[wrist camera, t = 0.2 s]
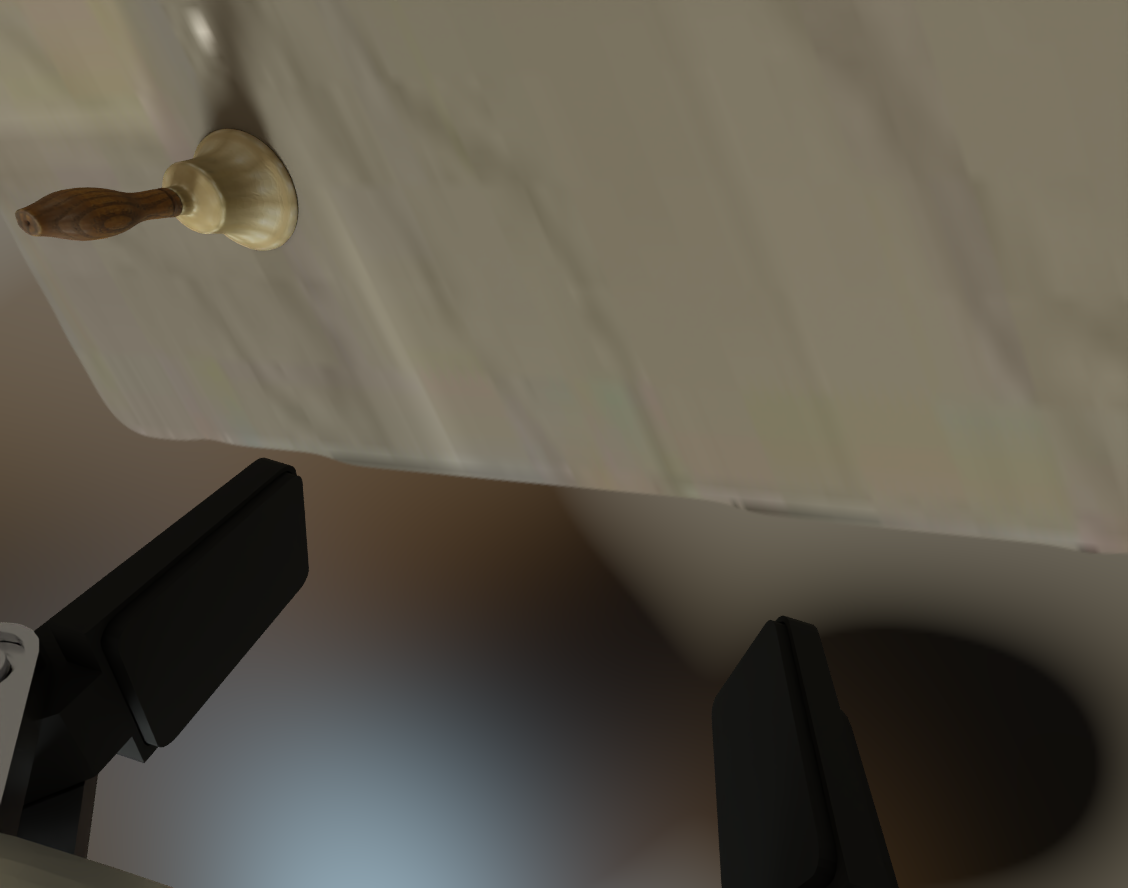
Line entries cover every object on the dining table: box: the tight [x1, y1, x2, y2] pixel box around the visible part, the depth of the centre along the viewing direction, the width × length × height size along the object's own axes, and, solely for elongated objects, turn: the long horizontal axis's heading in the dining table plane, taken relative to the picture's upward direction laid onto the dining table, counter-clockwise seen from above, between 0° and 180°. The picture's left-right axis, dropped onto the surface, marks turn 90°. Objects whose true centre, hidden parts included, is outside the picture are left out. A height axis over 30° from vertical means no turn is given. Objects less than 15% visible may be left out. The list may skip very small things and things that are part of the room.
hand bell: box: [15, 129, 298, 251], centre depth 32 cm, size 8×8×16 cm
